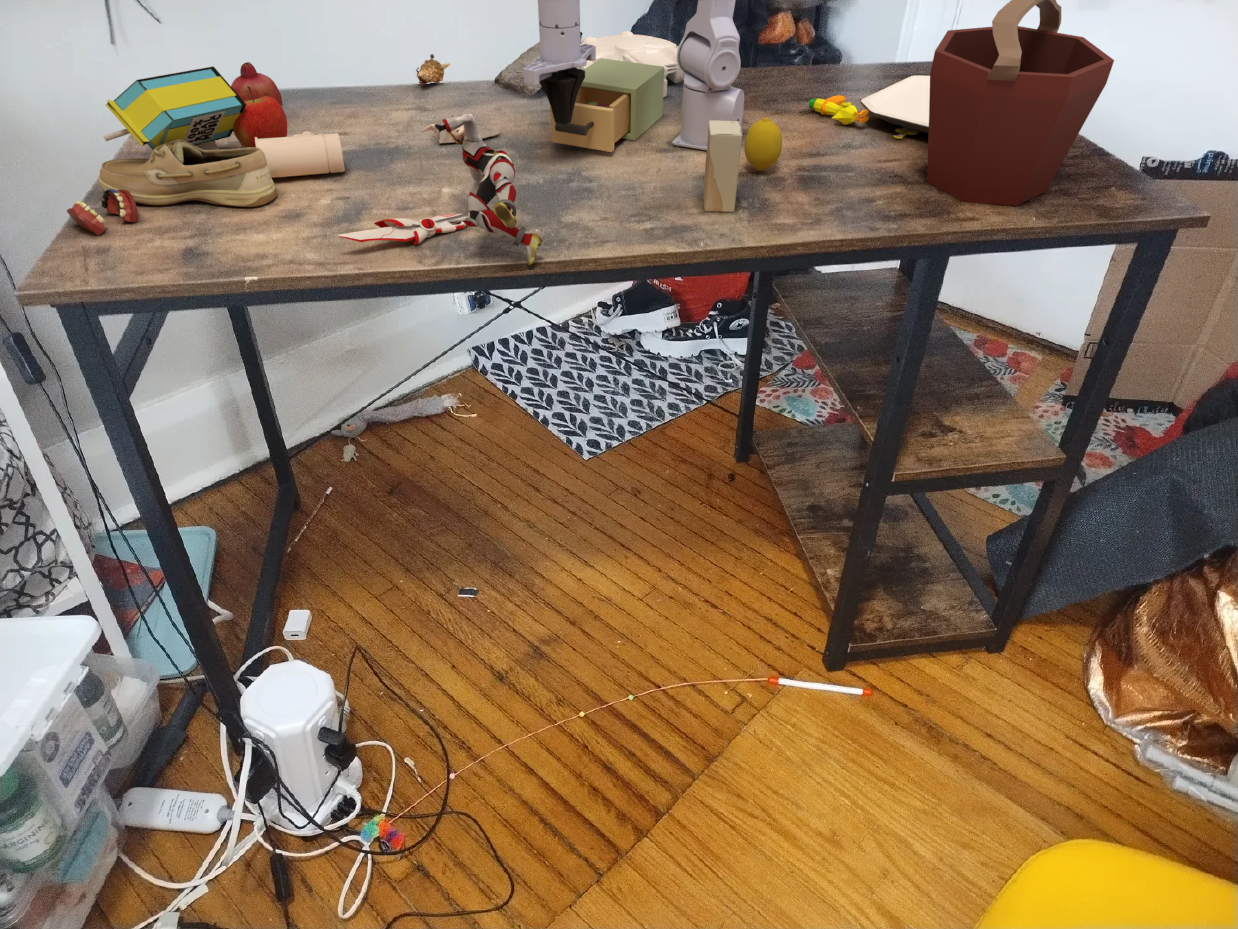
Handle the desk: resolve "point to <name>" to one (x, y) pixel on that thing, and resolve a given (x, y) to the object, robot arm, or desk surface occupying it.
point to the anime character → (489, 180)
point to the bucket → (1009, 104)
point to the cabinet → (631, 89)
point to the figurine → (431, 71)
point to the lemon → (763, 144)
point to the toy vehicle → (638, 53)
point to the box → (722, 165)
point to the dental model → (113, 202)
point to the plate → (903, 103)
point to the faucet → (302, 154)
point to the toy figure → (838, 109)
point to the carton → (178, 108)
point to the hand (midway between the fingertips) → (562, 122)
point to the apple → (260, 121)
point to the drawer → (595, 120)
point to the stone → (520, 73)
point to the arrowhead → (483, 133)
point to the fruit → (255, 84)
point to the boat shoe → (193, 176)
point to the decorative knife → (905, 132)
